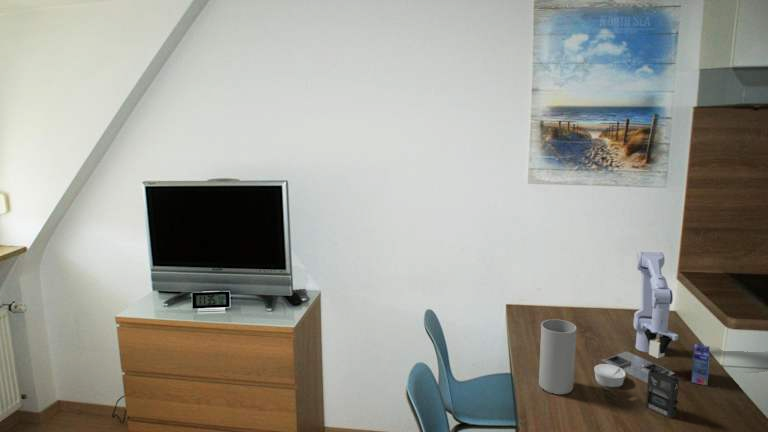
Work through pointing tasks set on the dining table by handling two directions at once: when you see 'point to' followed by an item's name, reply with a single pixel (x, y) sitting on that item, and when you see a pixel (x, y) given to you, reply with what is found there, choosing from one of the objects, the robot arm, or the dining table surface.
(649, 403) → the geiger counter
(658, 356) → the plug
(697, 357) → the ink cartridge box
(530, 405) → the dining table surface
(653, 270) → the robot arm
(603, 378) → the ramekin
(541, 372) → the cylinder vase
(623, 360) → the switch plate
